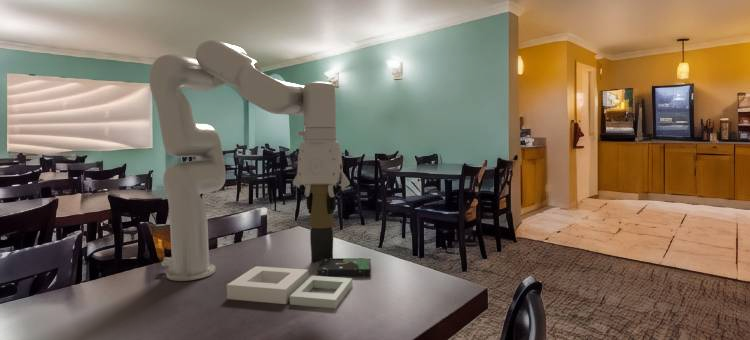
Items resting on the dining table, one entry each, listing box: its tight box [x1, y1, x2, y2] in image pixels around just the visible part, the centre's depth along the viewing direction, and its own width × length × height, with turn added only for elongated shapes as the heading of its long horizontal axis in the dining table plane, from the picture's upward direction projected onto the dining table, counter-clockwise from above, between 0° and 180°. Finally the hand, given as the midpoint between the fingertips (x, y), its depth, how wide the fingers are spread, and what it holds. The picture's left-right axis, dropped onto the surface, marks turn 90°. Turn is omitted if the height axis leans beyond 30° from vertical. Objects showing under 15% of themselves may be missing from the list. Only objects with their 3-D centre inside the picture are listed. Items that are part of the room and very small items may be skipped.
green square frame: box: [289, 275, 353, 310], centre depth 100 cm, size 11×14×2 cm
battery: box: [309, 227, 334, 263], centre depth 127 cm, size 7×4×11 cm, turn 99°
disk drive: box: [316, 257, 372, 278], centre depth 118 cm, size 10×3×15 cm
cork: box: [308, 184, 335, 228], centre depth 98 cm, size 6×6×11 cm
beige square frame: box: [226, 265, 309, 305], centre depth 103 cm, size 16×14×4 cm
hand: (321, 211), depth 98 cm, fingers closed on cork, 4 cm apart
